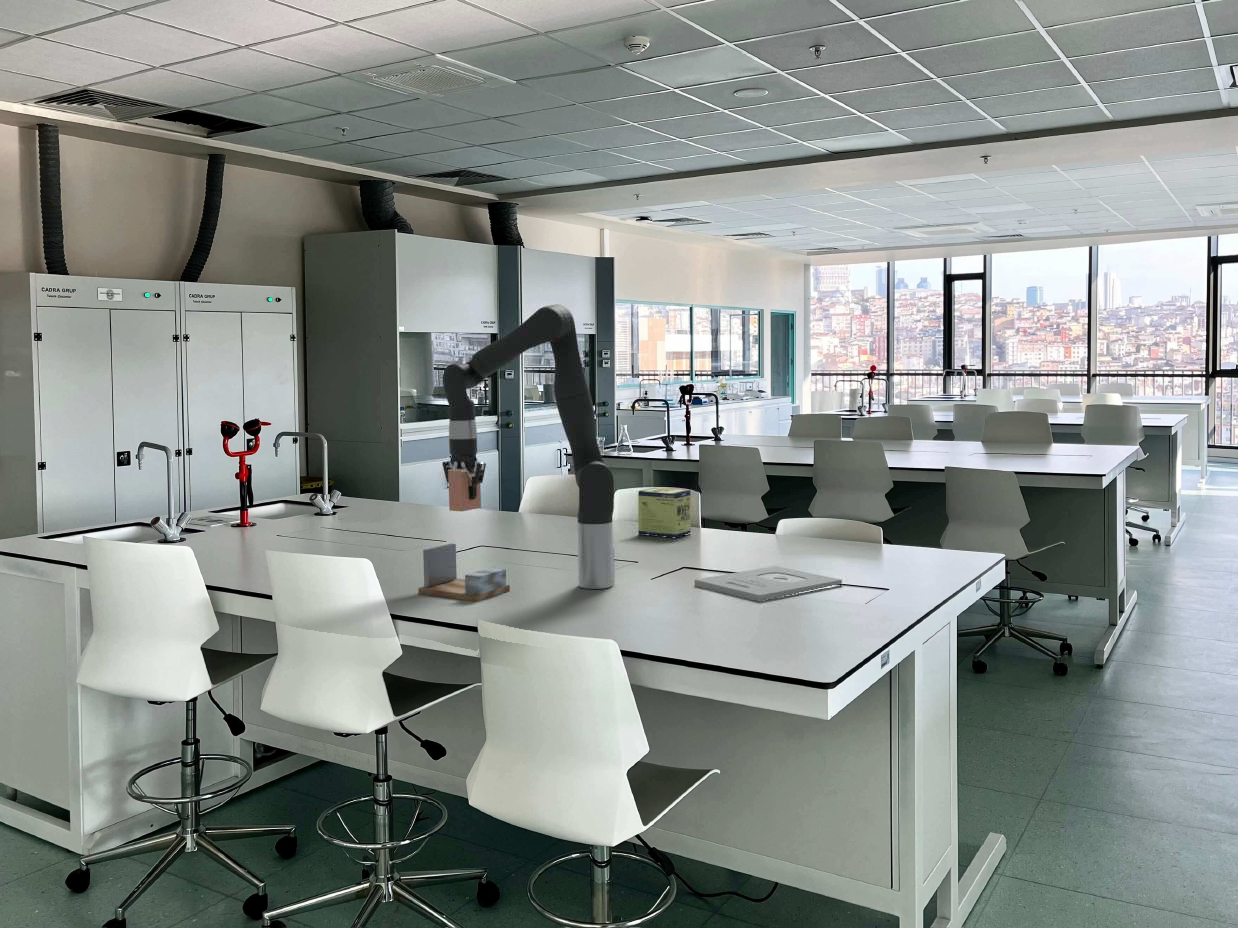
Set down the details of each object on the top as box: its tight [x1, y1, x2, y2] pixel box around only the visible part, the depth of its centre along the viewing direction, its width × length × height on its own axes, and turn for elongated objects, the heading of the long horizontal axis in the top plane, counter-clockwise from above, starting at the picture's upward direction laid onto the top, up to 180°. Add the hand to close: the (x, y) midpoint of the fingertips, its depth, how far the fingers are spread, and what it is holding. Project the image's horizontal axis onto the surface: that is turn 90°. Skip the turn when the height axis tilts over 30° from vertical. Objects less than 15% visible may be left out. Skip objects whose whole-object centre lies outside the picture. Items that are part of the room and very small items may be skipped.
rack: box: [417, 567, 511, 602], centre depth 271 cm, size 14×19×6 cm
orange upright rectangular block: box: [447, 469, 482, 512], centre depth 285 cm, size 8×5×11 cm, turn 148°
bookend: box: [422, 543, 458, 586], centre depth 275 cm, size 11×2×10 cm, turn 149°
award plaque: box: [694, 565, 843, 602], centre depth 275 cm, size 25×30×2 cm
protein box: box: [637, 487, 692, 539], centre depth 360 cm, size 10×16×16 cm
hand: (465, 498), depth 285 cm, fingers closed on orange upright rectangular block, 4 cm apart
